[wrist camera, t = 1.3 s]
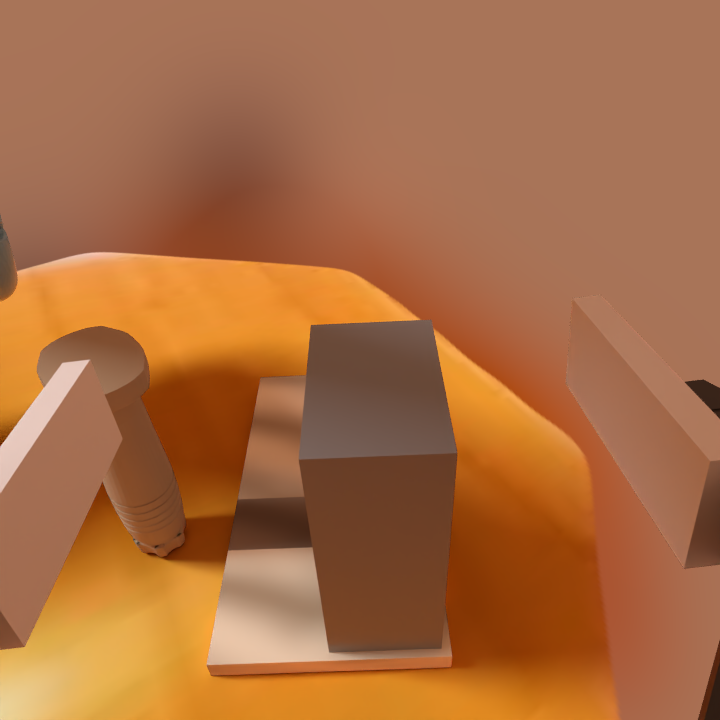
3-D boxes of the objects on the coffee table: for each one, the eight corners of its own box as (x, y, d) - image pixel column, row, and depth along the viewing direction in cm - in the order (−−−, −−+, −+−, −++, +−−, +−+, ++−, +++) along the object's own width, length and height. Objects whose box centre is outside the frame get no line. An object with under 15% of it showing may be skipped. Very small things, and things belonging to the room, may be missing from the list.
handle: (151, 594, 36) (65, 413, 27) (109, 529, 40) (22, 352, 31) (220, 547, 38) (163, 367, 29) (174, 491, 42) (111, 316, 33)
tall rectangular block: (332, 514, 39) (310, 325, 30) (429, 510, 39) (437, 319, 29) (329, 652, 32) (298, 459, 22) (447, 648, 31) (465, 452, 22)
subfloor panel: (262, 388, 51) (260, 377, 50) (413, 381, 51) (413, 370, 50) (211, 675, 32) (206, 665, 31) (451, 667, 32) (452, 656, 31)
